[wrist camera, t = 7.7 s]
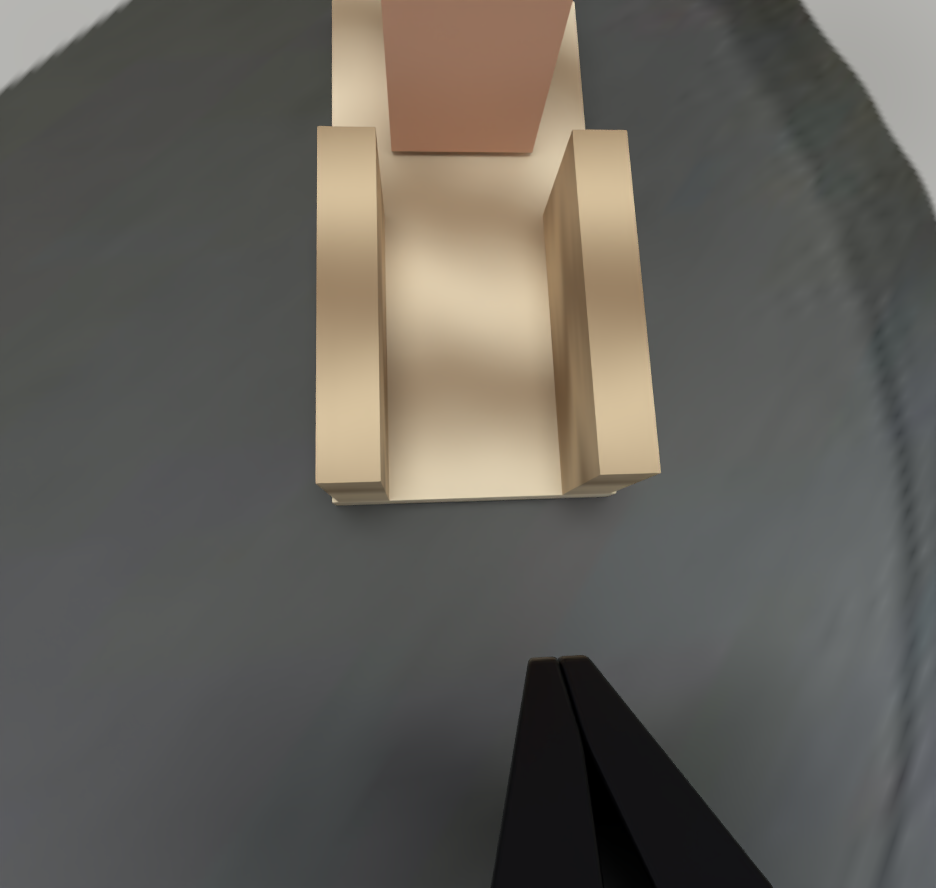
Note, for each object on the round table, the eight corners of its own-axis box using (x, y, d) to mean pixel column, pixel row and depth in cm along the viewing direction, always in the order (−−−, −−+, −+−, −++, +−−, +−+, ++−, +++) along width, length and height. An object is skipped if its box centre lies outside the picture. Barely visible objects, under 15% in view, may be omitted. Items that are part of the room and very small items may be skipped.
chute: (607, 496, 22) (668, 472, 17) (336, 505, 21) (307, 483, 16) (568, 23, 26) (607, -123, 20) (335, 17, 25) (311, -136, 19)
